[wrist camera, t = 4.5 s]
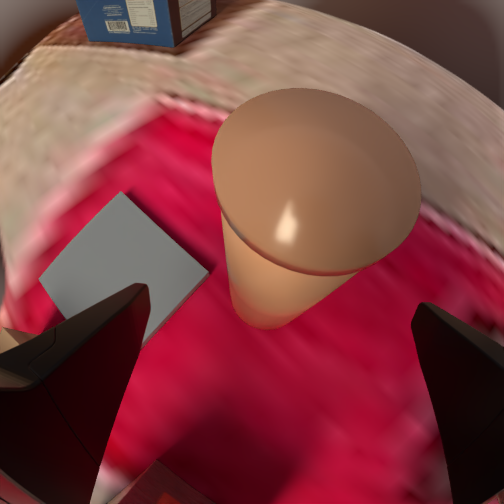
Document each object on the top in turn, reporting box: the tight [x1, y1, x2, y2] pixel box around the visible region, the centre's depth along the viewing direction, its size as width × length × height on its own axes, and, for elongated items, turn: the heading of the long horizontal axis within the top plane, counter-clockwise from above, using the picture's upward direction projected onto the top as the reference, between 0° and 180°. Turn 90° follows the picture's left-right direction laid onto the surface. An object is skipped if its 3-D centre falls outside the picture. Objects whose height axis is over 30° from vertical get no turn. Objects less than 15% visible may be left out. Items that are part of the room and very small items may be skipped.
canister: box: [212, 88, 421, 330], centre depth 13 cm, size 5×5×14 cm
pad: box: [39, 191, 210, 349], centre depth 18 cm, size 9×9×1 cm
